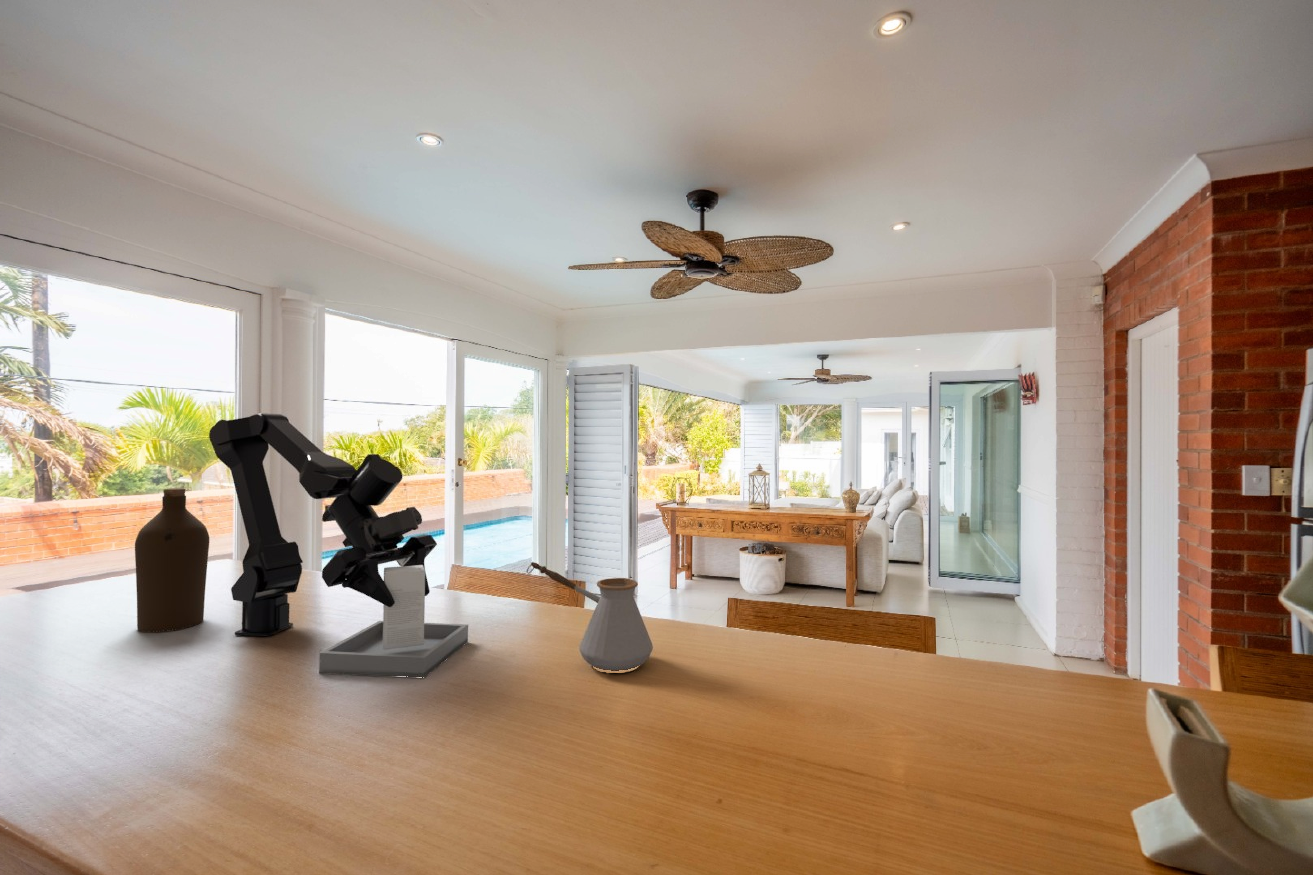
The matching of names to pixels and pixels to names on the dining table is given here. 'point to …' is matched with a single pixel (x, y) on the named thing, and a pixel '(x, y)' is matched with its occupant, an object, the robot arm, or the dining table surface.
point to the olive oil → (171, 567)
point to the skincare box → (404, 607)
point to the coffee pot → (611, 624)
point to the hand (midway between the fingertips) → (410, 599)
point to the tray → (393, 652)
